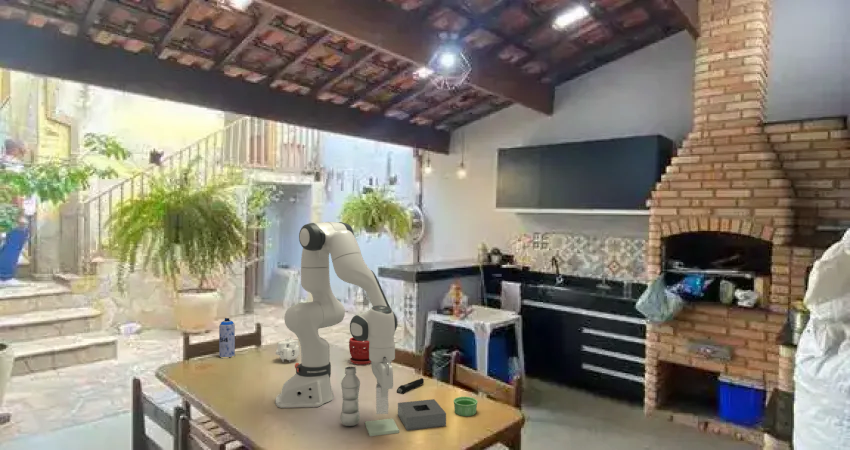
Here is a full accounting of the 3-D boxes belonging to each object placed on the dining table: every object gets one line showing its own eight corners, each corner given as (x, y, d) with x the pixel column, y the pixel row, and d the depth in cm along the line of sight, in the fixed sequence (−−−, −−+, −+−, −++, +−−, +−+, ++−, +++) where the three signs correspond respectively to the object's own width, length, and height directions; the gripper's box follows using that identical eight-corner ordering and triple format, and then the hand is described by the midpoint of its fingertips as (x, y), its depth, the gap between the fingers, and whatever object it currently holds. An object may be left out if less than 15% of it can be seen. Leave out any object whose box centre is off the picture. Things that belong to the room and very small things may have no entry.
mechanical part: (291, 356, 261) (291, 333, 261) (303, 361, 252) (303, 338, 252) (271, 360, 254) (271, 337, 253) (282, 365, 245) (282, 341, 244)
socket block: (407, 430, 171) (407, 417, 171) (397, 415, 185) (397, 402, 185) (446, 426, 175) (446, 413, 175) (434, 411, 189) (434, 399, 189)
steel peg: (376, 414, 171) (376, 387, 170) (376, 409, 175) (376, 383, 174) (388, 413, 171) (388, 387, 171) (388, 409, 175) (388, 383, 175)
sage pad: (369, 436, 167) (369, 433, 167) (364, 424, 176) (364, 421, 176) (399, 432, 170) (399, 429, 169) (392, 421, 179) (392, 418, 179)
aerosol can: (215, 358, 258) (215, 319, 257) (224, 354, 265) (224, 316, 265) (229, 358, 256) (229, 319, 256) (238, 354, 264) (238, 316, 264)
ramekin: (470, 419, 182) (470, 407, 182) (449, 413, 186) (449, 402, 186) (481, 411, 189) (481, 399, 189) (460, 406, 194) (460, 394, 194)
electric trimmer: (426, 385, 218) (426, 378, 218) (402, 395, 206) (402, 387, 206) (419, 384, 221) (419, 376, 221) (395, 393, 209) (395, 385, 208)
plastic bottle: (341, 421, 179) (341, 365, 178) (360, 420, 179) (360, 365, 179) (339, 429, 172) (339, 371, 172) (359, 428, 173) (359, 370, 173)
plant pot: (373, 366, 245) (374, 341, 245) (347, 366, 245) (347, 341, 245) (376, 358, 258) (377, 335, 258) (351, 358, 258) (351, 335, 258)
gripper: (397, 361, 163) (397, 403, 163) (385, 346, 183) (385, 383, 183) (378, 362, 162) (378, 405, 162) (368, 347, 181) (368, 385, 181)
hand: (382, 393), depth 173 cm, fingers closed on steel peg, 4 cm apart
